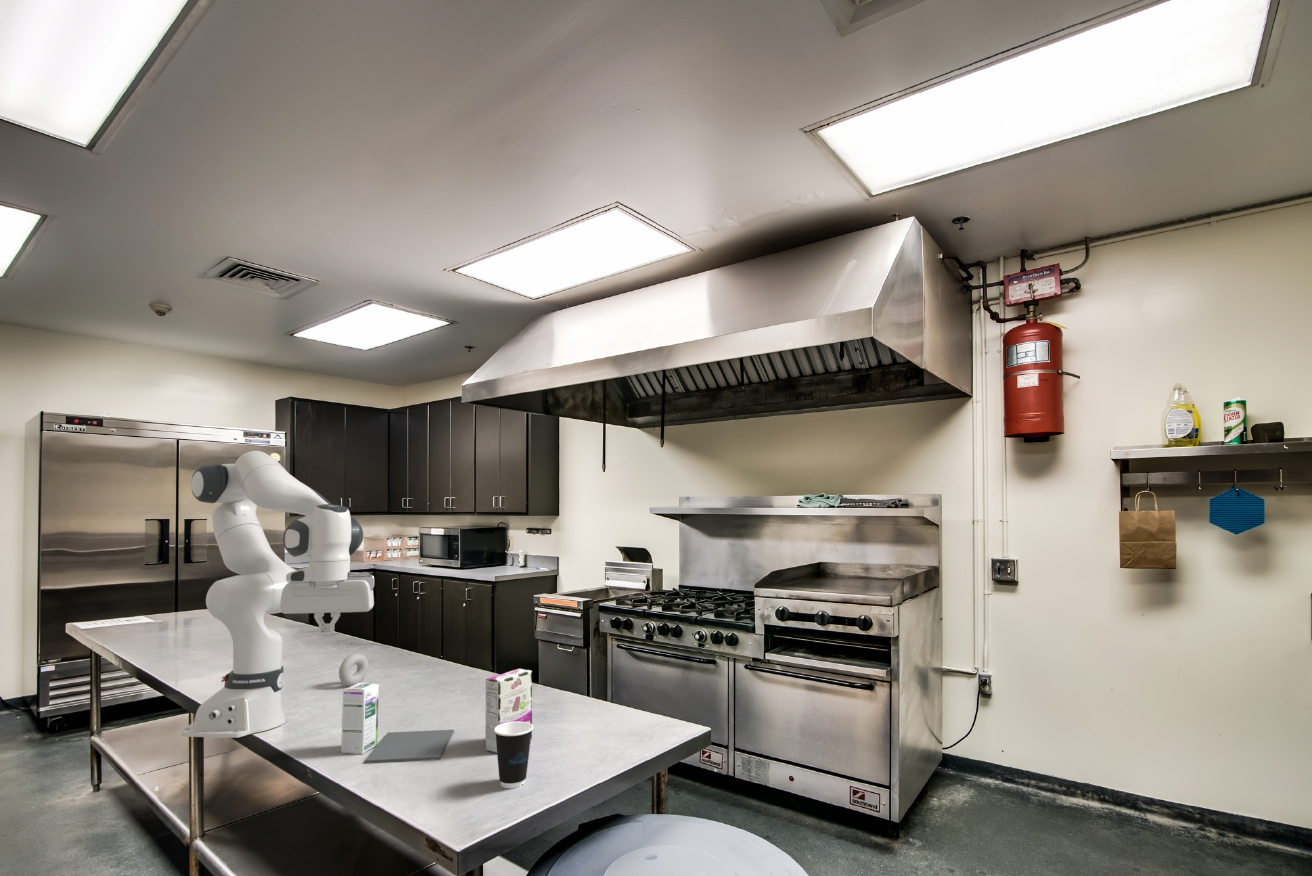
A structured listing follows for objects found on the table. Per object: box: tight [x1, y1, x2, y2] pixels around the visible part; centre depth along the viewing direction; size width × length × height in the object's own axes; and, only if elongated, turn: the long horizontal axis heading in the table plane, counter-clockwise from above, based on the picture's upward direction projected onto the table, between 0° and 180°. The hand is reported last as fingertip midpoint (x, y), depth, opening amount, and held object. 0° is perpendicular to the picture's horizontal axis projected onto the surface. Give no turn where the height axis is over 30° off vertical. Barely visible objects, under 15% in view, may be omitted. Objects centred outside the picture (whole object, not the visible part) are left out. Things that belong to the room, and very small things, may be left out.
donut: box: [338, 652, 369, 687], centre depth 206 cm, size 10×4×10 cm, turn 152°
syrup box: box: [340, 681, 380, 755], centre depth 153 cm, size 6×6×14 cm
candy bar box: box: [484, 668, 533, 754], centre depth 155 cm, size 11×5×16 cm, turn 148°
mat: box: [364, 729, 455, 764], centre depth 153 cm, size 16×18×1 cm
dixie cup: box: [494, 722, 534, 789], centre depth 133 cm, size 8×8×11 cm
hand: (326, 631), depth 154 cm, fingers closed
